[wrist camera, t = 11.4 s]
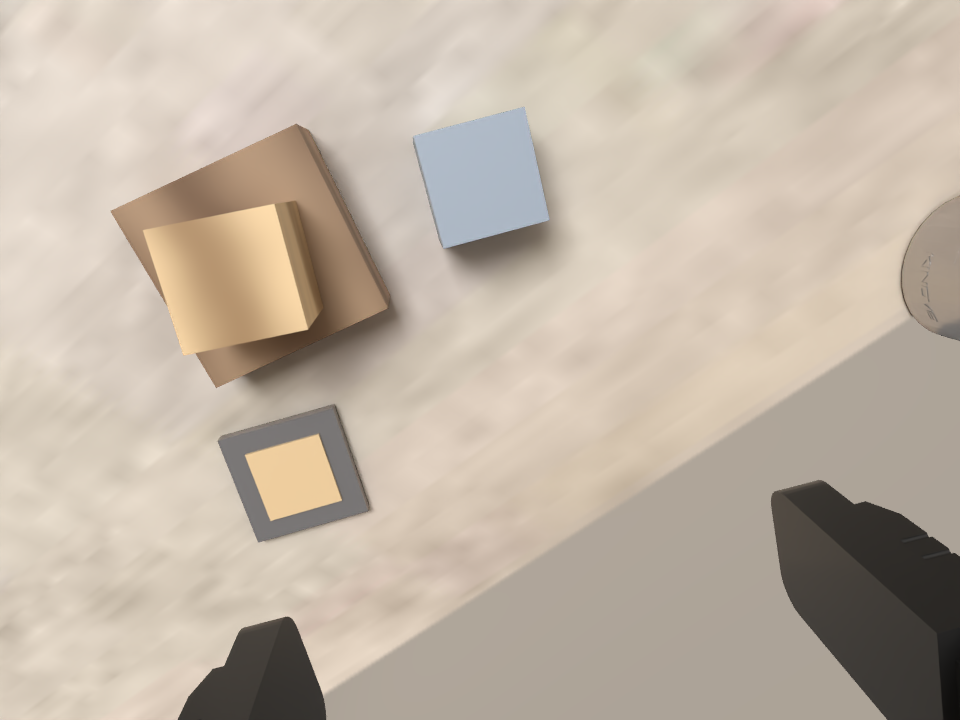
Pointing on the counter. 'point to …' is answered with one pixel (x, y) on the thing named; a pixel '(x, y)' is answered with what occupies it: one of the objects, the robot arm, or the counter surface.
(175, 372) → the counter surface
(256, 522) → the tile
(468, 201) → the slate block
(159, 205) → the base block
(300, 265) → the oak block
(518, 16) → the counter surface
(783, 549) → the robot arm
